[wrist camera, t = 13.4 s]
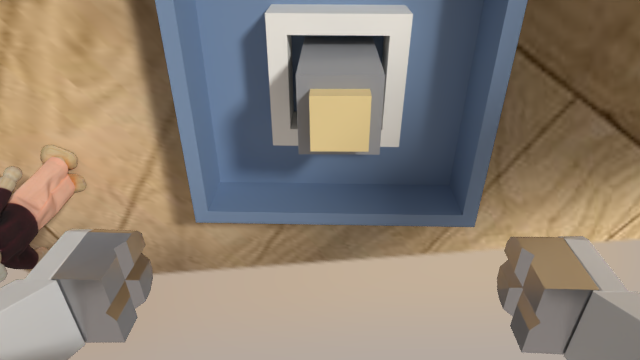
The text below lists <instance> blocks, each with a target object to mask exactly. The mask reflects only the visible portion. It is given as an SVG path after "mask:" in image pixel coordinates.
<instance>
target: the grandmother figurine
mask: <svg viewBox="0 0 640 360" xmlns="http://www.w3.org/2000/svg"><path fill="white" fill-rule="evenodd" d="M40 157H41V160H42V162H43V163H44V164H43V165H42V166H41V167H40V168H39V169H38V170H37V171H36V172H35V173H34V174H33V175H32V176H31V177H30V178H29V179H28V180H27V181H26V182H25V183H23V184H22V185H21V186H20V187H19V188H18V189H17V190H16V191H15V192H14V194H13V195H12V196H11V194H12V191H13V190H14V188H15V187H16V182H17V181H19V180H20V179H21V177H22V171H21V169H19V168H18V167H15V166H11V167H8V168H6V169H5V171H4V173H3V176H2V177H1V178H0V282H1V281H3V280H4V279H5V278H6V276H7V270H6V268H5V267H8V268H13V269H33V268H34V267H35V266H36V264H37V263H39V261H40V260H41V259H42V258H43V257H44V256H45V255H46V253H47V252H48V251H49V250H48V249H47V248H45V247H40V248H37V249H36V250H34V249H33V248H31V247H30V245H29V244H30V242H31V241H32V240H33V239H34V237H35V236H36V235H37V233H38V230H39V229H41V228H42V227H43V226H44V225H45V224H46V223H47V222H49V221H50V220H51V218H53V217H54V216H55V215H56V214H57V213H58V211H59V210H60V209H61V208H62V206H63V205H64V204H65V203H66V202H67V201H68V199H69V198H70V197H71V196H72V195H73V193H75V192H80V191H83V190H85V188H86V183H85V180H84V179H83V178H82V177H81V176H79V175H77V174H68V169H73V168H75V167H76V166H77V164H78V163H77V157H76V156H75V155H74V154H73V153H72V152H70V151H67V150H64V149H61V148H59V147H56V146H53V145H47V146H45V147H43V149H42V151H41V154H40Z"/></svg>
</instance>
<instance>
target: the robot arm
mask: <svg viewBox="0 0 640 360" xmlns="http://www.w3.org/2000/svg"><path fill="white" fill-rule="evenodd" d="M144 247H145V242H144V239H143V236H142V233H140V232H138V231H131V230H104V229H94V230H92V229H71V230H68V231H66V232H65V233H64V234H63V235H62V236H61V237H60V239H59V240H58V241H57V242H56V243H55V244H54V245H53V247H52V248H51V249H50V250H49V251H48V252H47V253H46V255H45V256H44V257H43V258H42V259H41V260H40V261H39V263H38V264H37V265H36V266H35V267H34V268H33V270H32V271H31V272H30V273H29V274H28V275H27V276H26V278H25V279H17V280H15V281H13V282H11V283H9V284H7V285H5V286H3V287H1V288H0V360H68V359H69V358H70V357H71V356H72V355H74V354H75V353H76V352H77V351H78V350H80V349H81V348H82V347H83V346H84V345H85V342H125V341H126V339H127V337H128V335H129V333H130V331H131V329H132V327H133V325H134V323H135V321H136V319H137V315H136V311H135V308H136V307H138V306H139V305H141V304H142V303H144V302H145V301H146V299H147V297H148V295H149V292H150V290H151V284H152V279H153V275H152V266H151V262H150V260H149V259H148V258H147V257H146V256H145V255H143V254H142V253H141V252H142V250H143V249H144ZM504 251H505V253H506V256H507V257H508V260H507V261H506V262H505V263H504V264H503V265H501V266H500V269H499V273H498V277H497V290H498V295H499V299H500V302H501V305H502V307H503V309H504V310H505V311H507V312H508V313H509V314H510V315H512V316H513V319H512V322H511V325H510V326H511V329H512V331H513V333H514V336H515V338H516V340H517V343H518V345H519V347H520V350H521V352H527V353H546V354H564V357H565V358H566V359H567V360H640V293H638V292H631V291H628V290H627V288H626V287H625V286H624V285H623V283H622V282H621V280H620V279H619V278H618V277H617V275H616V274H615V273H614V272H613V270H612V269H611V268H610V266H609V265H608V264H607V262H606V261H605V260H604V259H603V257H602V256H601V255H600V253H599V252H598V251H597V250H596V248H595V247H594V246H593V244H592V243H591V242H590V241H589V240H588V239H587V238H585V237H583V236H566V237H510V239H509V240H508V241H507V244H506V247H505V250H504Z"/></svg>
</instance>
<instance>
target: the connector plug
mask: <svg viewBox="0 0 640 360" xmlns="http://www.w3.org/2000/svg"><path fill="white" fill-rule="evenodd" d="M384 85H385V73H384V70H383V67H382V64H381V61H380V58H379V55H378V52H377V49H376V46H375V43H374V40H373V37H305V38H304V42H303V46H302V50H301V55H300V59H299V63H298V67H297V71H296V98H297V124H298V149H299V154H357V155H380V141H381V127H382V113H383V99H384Z"/></svg>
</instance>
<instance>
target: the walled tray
mask: <svg viewBox="0 0 640 360" xmlns="http://www.w3.org/2000/svg"><path fill="white" fill-rule="evenodd" d="M527 1H528V0H155V4H156V9H157V15H158V20H159V25H160V31H161V36H162V42H163V47H164V52H165V58H166V63H167V69H168V74H169V79H170V85H171V90H172V96H173V101H174V106H175V112H176V117H177V123H178V128H179V133H180V139H181V144H182V150H183V155H184V160H185V166H186V171H187V177H188V182H189V187H190V193H191V198H192V204H193V209H194V214H195V220H196V222H200V223H260V224H320V225H381V226H441V227H474V226H475V222H476V218H477V214H478V209H479V205H480V201H481V197H482V192H483V188H484V184H485V180H486V175H487V171H488V167H489V163H490V158H491V154H492V150H493V146H494V141H495V137H496V133H497V129H498V124H499V120H500V116H501V112H502V107H503V103H504V99H505V95H506V90H507V86H508V82H509V78H510V73H511V69H512V65H513V61H514V56H515V52H516V48H517V44H518V39H519V35H520V31H521V27H522V22H523V18H524V14H525V10H526V5H527ZM305 37H373V40H374V43H375V46H376V49H377V52H378V55H379V58H380V61H381V64H382V67H383V70H384V73H385V85H384V99H383V113H382V127H381V141H380V155H357V154H299V149H298V124H297V98H296V71H297V67H298V63H299V59H300V55H301V50H302V46H303V42H304V38H305Z"/></svg>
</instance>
